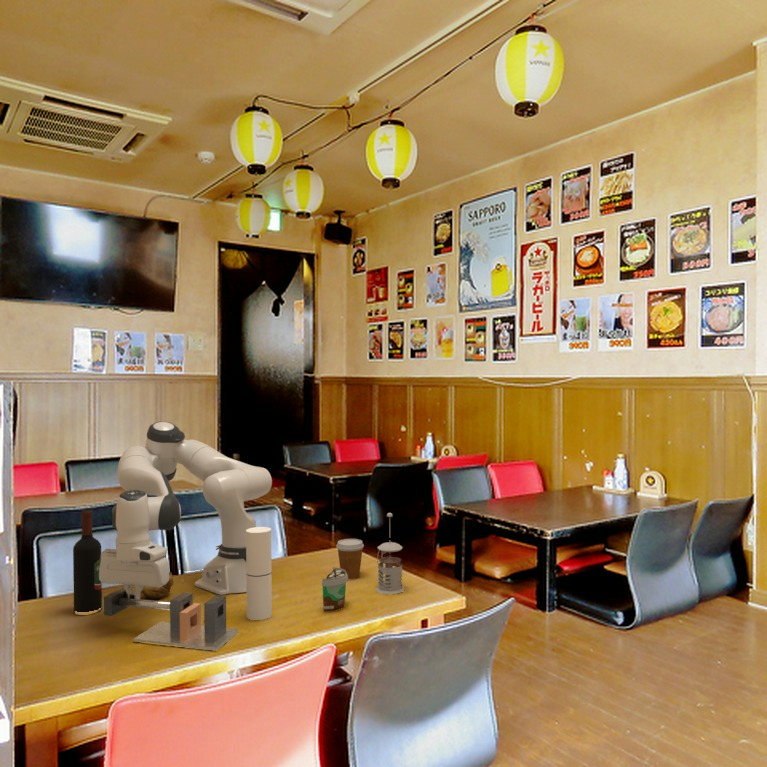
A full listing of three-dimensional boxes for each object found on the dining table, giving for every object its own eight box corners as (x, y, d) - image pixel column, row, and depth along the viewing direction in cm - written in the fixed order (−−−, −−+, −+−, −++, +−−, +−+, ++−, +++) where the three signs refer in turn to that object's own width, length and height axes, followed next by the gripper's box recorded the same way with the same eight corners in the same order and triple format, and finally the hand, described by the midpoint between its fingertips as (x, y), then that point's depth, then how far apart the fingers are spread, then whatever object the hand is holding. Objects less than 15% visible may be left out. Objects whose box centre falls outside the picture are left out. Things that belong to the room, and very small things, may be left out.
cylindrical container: (250, 622, 176) (249, 533, 176) (244, 614, 182) (243, 528, 182) (275, 617, 179) (274, 530, 179) (267, 609, 186) (266, 525, 185)
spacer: (180, 639, 162) (179, 612, 162) (194, 628, 169) (194, 603, 169) (186, 640, 162) (186, 613, 162) (201, 629, 169) (200, 603, 169)
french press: (384, 596, 196) (384, 517, 196) (367, 586, 206) (366, 510, 206) (411, 591, 201) (410, 513, 200) (392, 581, 211) (391, 507, 211)
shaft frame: (133, 642, 163) (132, 601, 163) (160, 625, 175) (160, 586, 174) (216, 651, 157) (215, 608, 157) (238, 632, 169) (238, 592, 169)
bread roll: (133, 606, 189) (133, 580, 189) (125, 597, 197) (125, 572, 197) (176, 597, 197) (175, 572, 197) (166, 589, 205) (166, 564, 205)
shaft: (103, 615, 167) (103, 596, 167) (123, 604, 175) (123, 587, 175) (171, 622, 162) (171, 602, 162) (188, 610, 170) (188, 592, 170)
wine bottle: (74, 608, 188) (73, 509, 188) (102, 604, 191) (101, 506, 191) (73, 617, 181) (71, 514, 181) (101, 613, 184) (100, 511, 184)
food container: (342, 614, 181) (342, 580, 181) (322, 613, 182) (321, 579, 182) (352, 599, 193) (352, 567, 193) (333, 598, 194) (333, 566, 194)
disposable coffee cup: (352, 570, 223) (351, 537, 223) (369, 576, 216) (369, 541, 216) (331, 576, 217) (330, 541, 217) (348, 582, 210) (348, 547, 210)
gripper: (93, 551, 172) (94, 601, 172) (158, 555, 167) (159, 606, 167) (108, 545, 178) (109, 593, 178) (172, 549, 173) (172, 598, 173)
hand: (134, 600), depth 173 cm, fingers closed
